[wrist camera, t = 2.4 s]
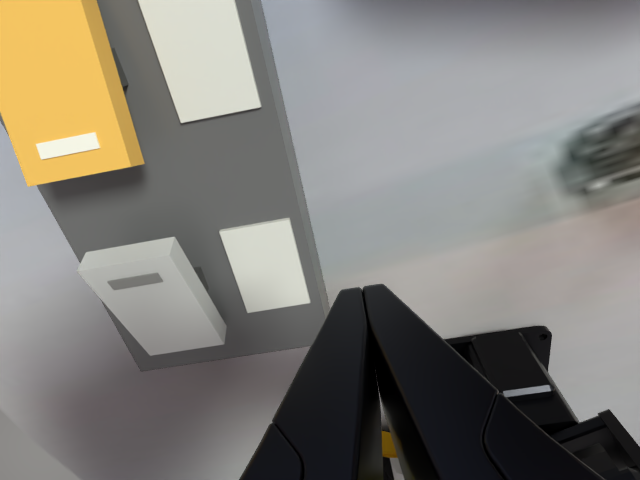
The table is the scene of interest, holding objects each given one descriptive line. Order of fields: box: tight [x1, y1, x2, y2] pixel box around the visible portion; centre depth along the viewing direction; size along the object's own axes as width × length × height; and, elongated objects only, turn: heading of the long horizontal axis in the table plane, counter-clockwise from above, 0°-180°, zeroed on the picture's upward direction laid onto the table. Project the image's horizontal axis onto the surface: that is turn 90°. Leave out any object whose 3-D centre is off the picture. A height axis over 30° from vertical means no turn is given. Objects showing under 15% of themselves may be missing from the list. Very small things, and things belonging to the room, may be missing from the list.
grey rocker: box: [77, 237, 227, 356], centre depth 18 cm, size 6×4×1 cm, turn 10°
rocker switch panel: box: [0, 0, 329, 371], centre depth 17 cm, size 20×10×4 cm, turn 11°
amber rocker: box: [0, 0, 145, 187], centre depth 13 cm, size 6×4×1 cm, turn 11°
